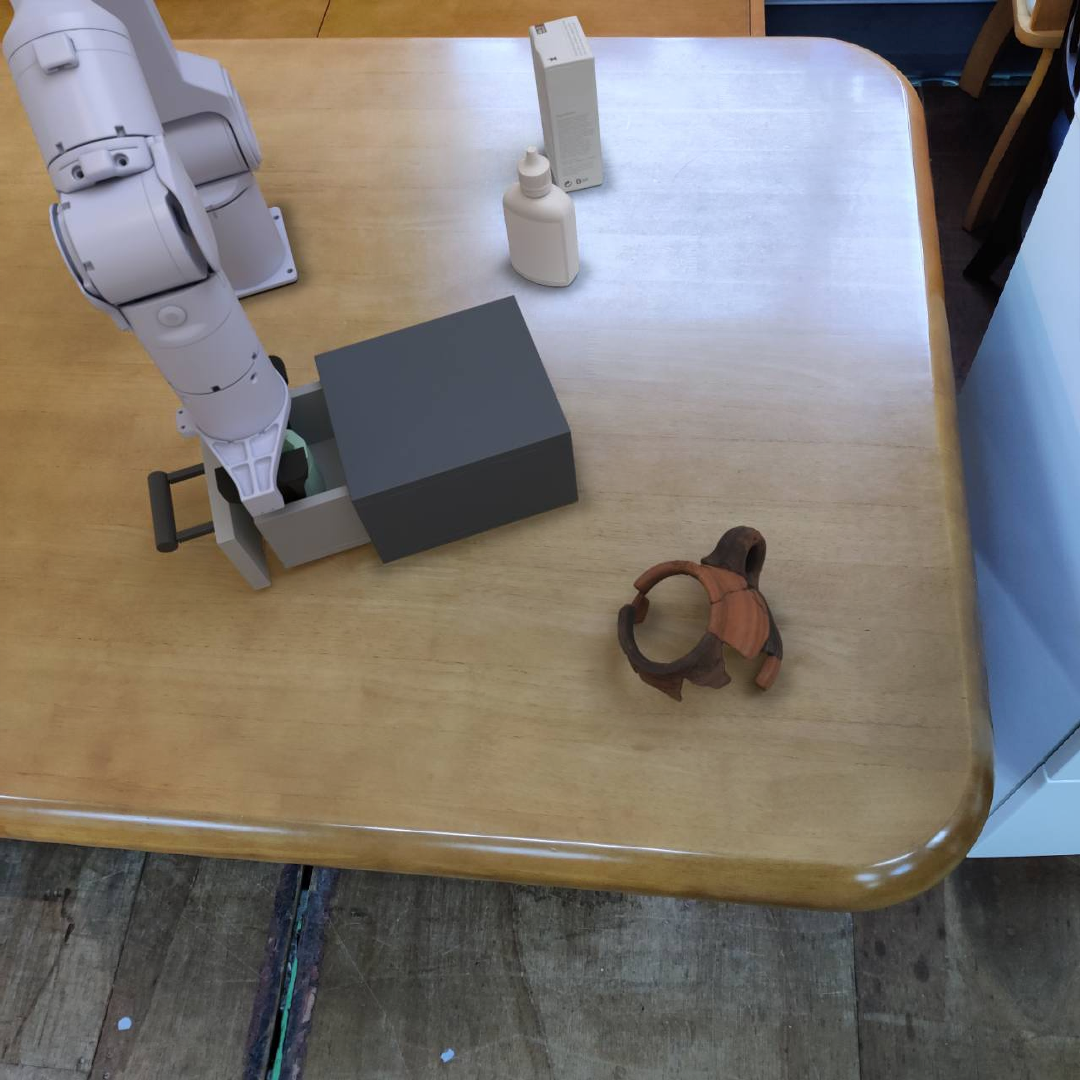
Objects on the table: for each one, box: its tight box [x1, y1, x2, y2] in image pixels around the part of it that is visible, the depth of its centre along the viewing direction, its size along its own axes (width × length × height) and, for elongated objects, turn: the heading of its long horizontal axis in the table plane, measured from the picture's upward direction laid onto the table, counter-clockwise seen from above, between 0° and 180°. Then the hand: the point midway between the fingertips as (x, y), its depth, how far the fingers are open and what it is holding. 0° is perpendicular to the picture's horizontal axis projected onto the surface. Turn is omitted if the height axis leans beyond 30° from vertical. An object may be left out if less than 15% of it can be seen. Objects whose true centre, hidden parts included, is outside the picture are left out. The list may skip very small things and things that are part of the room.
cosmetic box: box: [528, 15, 604, 193], centre depth 80 cm, size 6×4×12 cm
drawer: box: [146, 380, 372, 591], centre depth 66 cm, size 18×11×7 cm, turn 108°
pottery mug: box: [616, 525, 784, 703], centre depth 60 cm, size 12×10×8 cm
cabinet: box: [313, 294, 579, 564], centre depth 67 cm, size 15×13×9 cm
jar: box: [281, 429, 326, 497], centre depth 66 cm, size 5×5×4 cm
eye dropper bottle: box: [502, 145, 581, 287], centre depth 74 cm, size 4×6×12 cm
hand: (287, 482), depth 66 cm, fingers closed on jar, 5 cm apart
